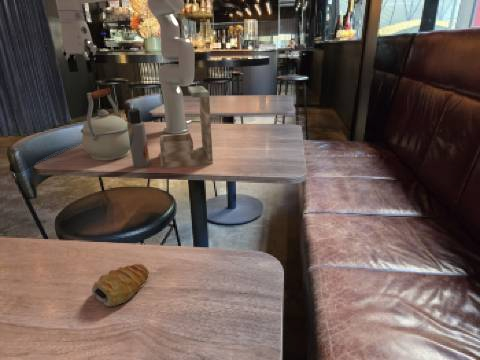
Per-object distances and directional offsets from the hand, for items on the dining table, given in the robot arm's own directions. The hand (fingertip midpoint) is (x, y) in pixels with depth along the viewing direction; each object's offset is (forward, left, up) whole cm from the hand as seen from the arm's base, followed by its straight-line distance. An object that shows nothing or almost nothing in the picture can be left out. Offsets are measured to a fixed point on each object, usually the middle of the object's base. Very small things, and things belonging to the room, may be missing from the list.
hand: (83, 72), depth 111 cm
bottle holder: (-15, +31, -31) cm, 47 cm away
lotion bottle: (-1, +23, -31) cm, 39 cm away
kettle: (-4, +2, -31) cm, 32 cm away
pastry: (+43, +70, -32) cm, 88 cm away
